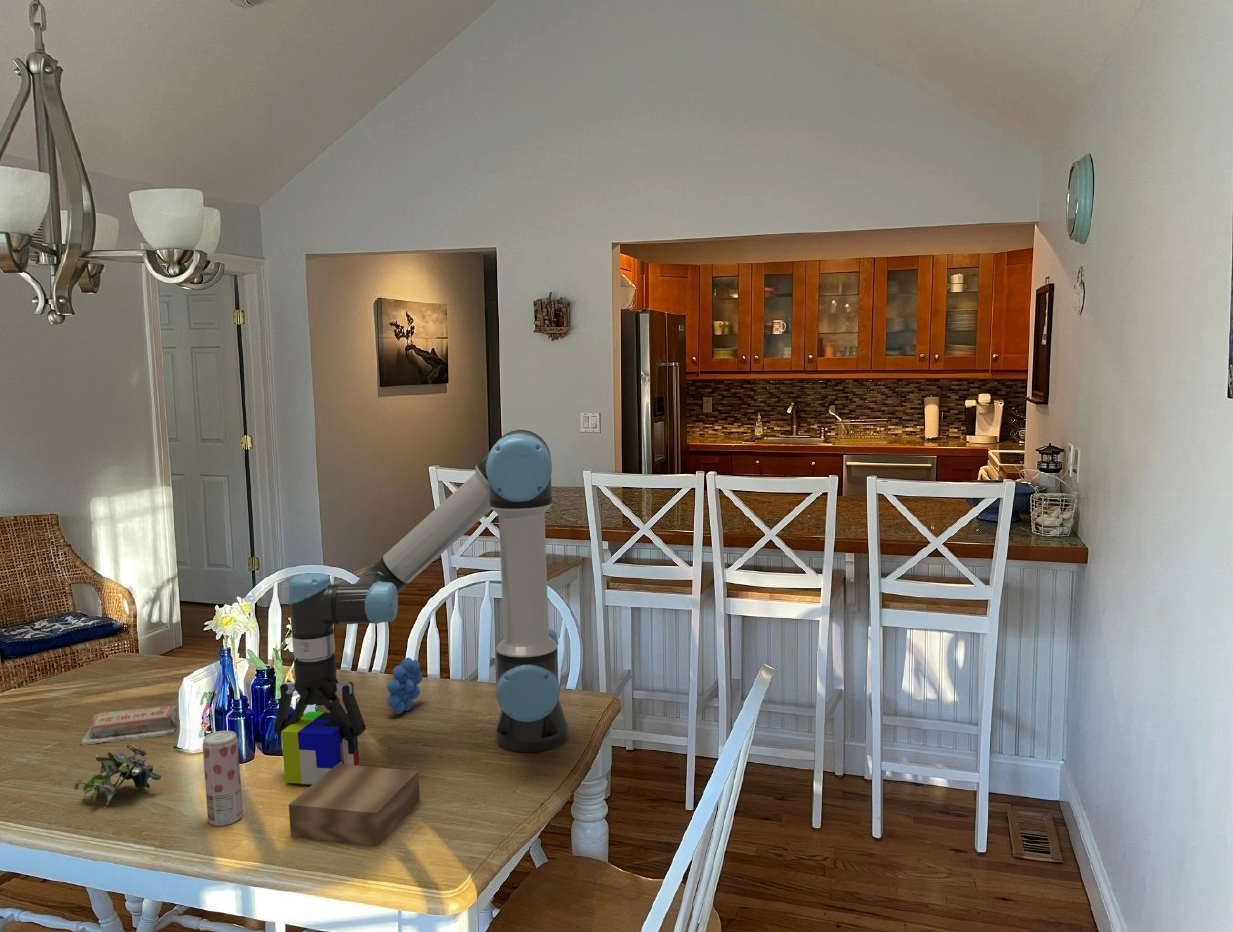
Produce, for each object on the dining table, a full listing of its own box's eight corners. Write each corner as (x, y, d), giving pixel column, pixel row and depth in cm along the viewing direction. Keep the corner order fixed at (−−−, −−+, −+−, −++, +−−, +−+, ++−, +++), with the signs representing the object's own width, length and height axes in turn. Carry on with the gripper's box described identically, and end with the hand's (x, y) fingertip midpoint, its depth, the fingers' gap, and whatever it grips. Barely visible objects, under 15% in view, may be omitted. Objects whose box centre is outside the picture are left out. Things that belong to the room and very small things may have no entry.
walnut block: (419, 802, 171) (418, 770, 171) (378, 847, 156) (376, 812, 155) (339, 794, 175) (337, 763, 174) (290, 838, 160) (288, 804, 159)
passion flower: (141, 816, 179) (176, 765, 178) (99, 834, 168) (136, 780, 167) (100, 778, 181) (134, 728, 180) (56, 794, 170) (92, 740, 170)
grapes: (406, 699, 222) (404, 649, 220) (430, 703, 219) (428, 652, 218) (374, 717, 211) (371, 664, 210) (398, 721, 209) (396, 668, 207)
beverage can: (248, 810, 169) (242, 729, 167) (236, 826, 163) (230, 742, 162) (215, 811, 169) (209, 730, 167) (202, 827, 163) (196, 743, 161)
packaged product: (179, 699, 213) (172, 715, 203) (181, 720, 213) (174, 737, 204) (90, 709, 208) (78, 726, 198) (92, 730, 208) (80, 748, 199)
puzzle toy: (334, 785, 176) (330, 733, 175) (285, 782, 178) (281, 731, 177) (359, 762, 186) (355, 713, 185) (312, 759, 188) (308, 711, 187)
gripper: (248, 661, 178) (257, 774, 180) (363, 663, 174) (370, 779, 177) (268, 648, 185) (277, 757, 188) (379, 650, 181) (386, 761, 184)
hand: (322, 768), depth 182 cm, fingers closed on puzzle toy, 10 cm apart
